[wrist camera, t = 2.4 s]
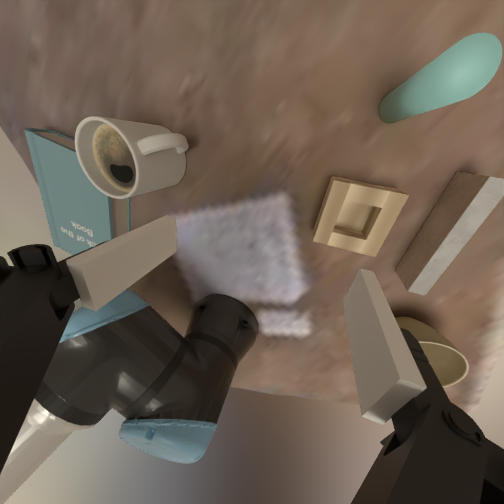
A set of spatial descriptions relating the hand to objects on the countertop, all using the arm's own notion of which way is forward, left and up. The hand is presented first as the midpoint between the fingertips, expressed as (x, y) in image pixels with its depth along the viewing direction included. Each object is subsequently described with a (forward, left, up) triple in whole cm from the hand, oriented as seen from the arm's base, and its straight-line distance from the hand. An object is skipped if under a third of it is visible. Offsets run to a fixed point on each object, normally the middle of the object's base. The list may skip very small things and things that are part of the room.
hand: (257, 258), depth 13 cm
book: (-38, -10, -19) cm, 44 cm away
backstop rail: (+19, 0, -18) cm, 26 cm away
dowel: (+9, +12, -18) cm, 24 cm away
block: (+9, 0, -18) cm, 20 cm away
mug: (-20, +2, -19) cm, 28 cm away
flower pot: (+24, -17, -19) cm, 35 cm away
